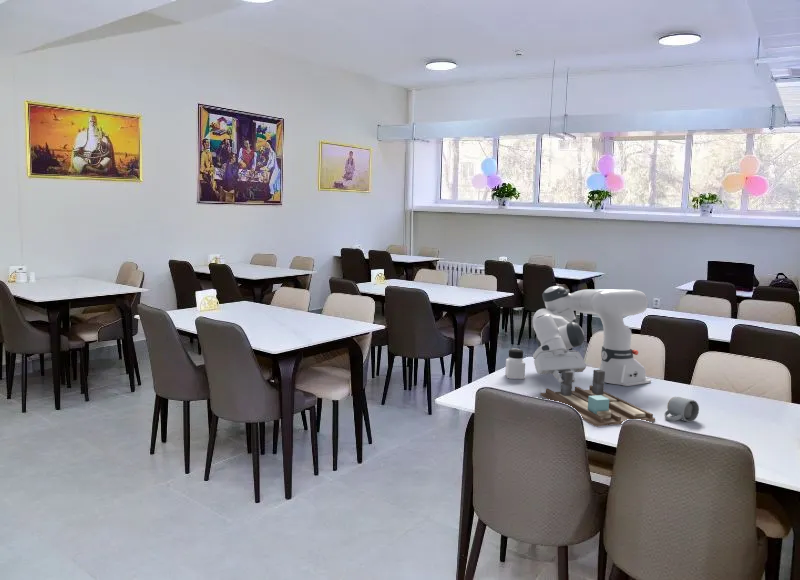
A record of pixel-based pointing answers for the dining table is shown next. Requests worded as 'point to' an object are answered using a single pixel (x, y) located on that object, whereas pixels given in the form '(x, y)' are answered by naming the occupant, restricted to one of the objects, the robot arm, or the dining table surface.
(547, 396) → the lane board
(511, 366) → the medicine bottle
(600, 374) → the left strip stub
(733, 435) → the dining table surface
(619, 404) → the left strip far piece
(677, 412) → the ceramic mug
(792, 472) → the dining table surface
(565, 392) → the right strip
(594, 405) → the teal cube
